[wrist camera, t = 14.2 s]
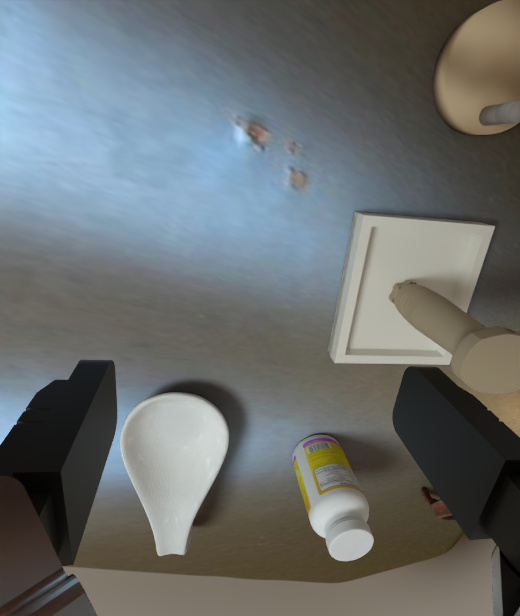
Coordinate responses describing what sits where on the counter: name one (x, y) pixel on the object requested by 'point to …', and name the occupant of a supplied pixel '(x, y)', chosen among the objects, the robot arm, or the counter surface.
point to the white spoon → (173, 461)
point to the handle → (463, 339)
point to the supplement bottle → (333, 497)
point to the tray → (395, 270)
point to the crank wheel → (481, 72)
